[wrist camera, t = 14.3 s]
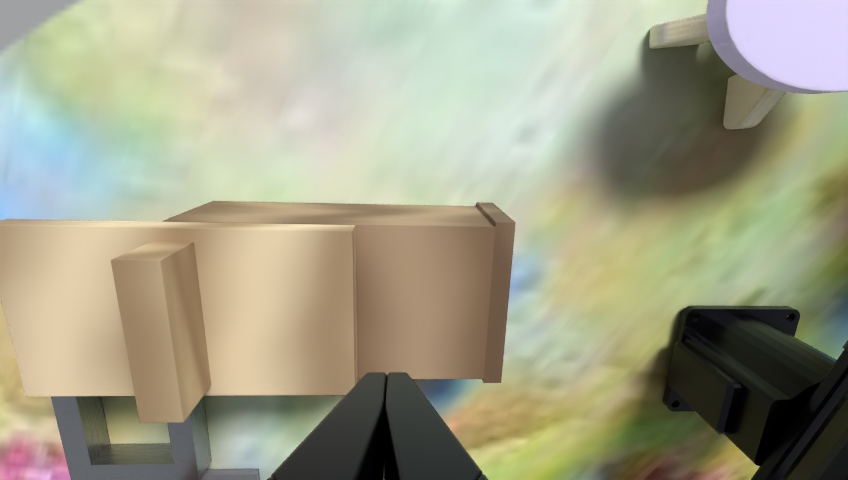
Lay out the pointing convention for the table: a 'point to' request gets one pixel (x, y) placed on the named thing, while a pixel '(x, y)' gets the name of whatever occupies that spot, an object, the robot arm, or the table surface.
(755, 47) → the toy table
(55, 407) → the socket
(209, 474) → the felt pad
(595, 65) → the table surface
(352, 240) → the lid
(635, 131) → the table surface
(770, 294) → the table surface
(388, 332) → the tan boxy piece
